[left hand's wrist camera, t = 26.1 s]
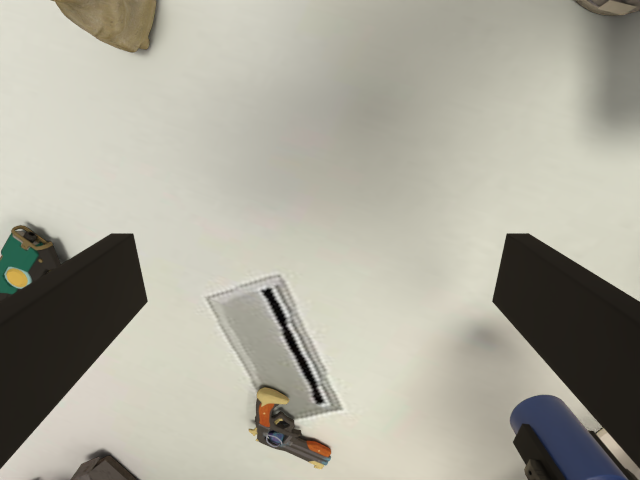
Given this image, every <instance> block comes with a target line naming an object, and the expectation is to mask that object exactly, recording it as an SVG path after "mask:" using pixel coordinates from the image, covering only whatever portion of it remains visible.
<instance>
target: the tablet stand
mask: <svg viewBox="0 0 640 480" xmlns="http://www.w3.org/2000/svg"><path fill="white" fill-rule="evenodd" d="M596 435H597V436H598V437H599V438H600V439H601V441H602V442H603V443H604V444H605V445H606V446H607V448H608V449H609V450H610V451H611V452H612V454H613V455H614V456H615V457H616V458H617V459H618V461H619V462H620V463H621V464H622V465H623V466H624V468H625V469H628V470H629V471H630V472H632V473H633V474H634V475H635V476H636V477H637V479H638V480H640V469H639V468H638V466H637V465H636V464H635V463H634V462H633V461H632V460H631V459H630V457H629V456H628V455H627V454H626V453H625V452H624V451H623V449H622V448H621V447H620V446H619V445H618V444H617V443H616V441H615V440H614V439H613V438H612V437H611V436H610V435H609V434H608V432H607V431H606V430H605V429H604V428H603V429H602V430H600V431H599V432H598V433H596Z"/></svg>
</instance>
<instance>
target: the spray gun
mask: <svg viewBox="0 0 640 480" xmlns="http://www.w3.org/2000/svg"><path fill="white" fill-rule="evenodd" d="M17 229H24V230H25V231H27V232H26V233H24V232H22V231H15V230H17ZM11 232H12V233H11V234H10V236H9V238H8V240H7V241H6V243H5V245H4V247H3V248H2V250H1V254H2V256H1V258H0V302H1V301H2V300H4V299H6V298H7V297H9V296H11V295H12V294H14V293H15V292H17V291H19V290H20V289H22V288H24V287H25V286H27V285H28V284H30V283H32V282H33V281H35V280H37V279H38V278H40V277H41V276H43V275H45V274H46V273H47V272H48V270H50V271H51V270H53V269H55V268H56V267H58V266H59V265H61V264H60V261H59V259H58V256H57V254H56V252H55V249H54V247H53V246H52V245H53V244H52V242H47V241H45V240H44V239H42V238H41V237H40V236H38V235H37V234H35V233H34V232H33V231H31V230H30V229H29V228H27V227H25V226H22V225H20V226H16V227H14V228H13V229H12V230H11ZM39 241H41V242H42V243H39ZM43 243H44V244H45V245H43ZM50 271H49V272H50Z"/></svg>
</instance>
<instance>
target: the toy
mask: <svg viewBox="0 0 640 480" xmlns="http://www.w3.org/2000/svg"><path fill="white" fill-rule="evenodd" d="M99 459H100V457H97V458H94V459H92V460H90V461H88V462H85V463H83V464H81V466H80V467H79V469H78V470H77V471H76V473H75V474H74V476H73V477H72V479H71V480H137V479H136V478H135V477H133V476H132V475H131V474H130V473H129V472H128V471H127V470H126V469H125V468H123V467H122V466H121V465H120V464H119V463H118V462H117V461H116V460H115V459H114V458H112V457H111V456H107V457H104V458H102V459H100V460H99Z"/></svg>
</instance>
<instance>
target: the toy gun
mask: <svg viewBox="0 0 640 480" xmlns="http://www.w3.org/2000/svg"><path fill="white" fill-rule="evenodd" d="M288 402H289V399H288V398H287V397H286V396H285V395H283V394H281V393H280V392H278V391H276V390H273V389H270V388H262V389H260V390H259V391H258V392H257V402H256V417H255V422H256V428H255V429H249V432H250V433H252V434H253V436H255V435H256V434H257V439H256V441H259V442H260V443H262V444H265V445H267V446H270V447H272V448H275V449H278V450H283V451H286V452H288V453H291V454H293V455H295V456H297V457H299V458H302V459H304V460H306V461H308V462H309V463H311V464H314V465H315V466H314V468H318V469H322V468H323V467H324V465H327V464H328V461H330V459H331V456H330V454H331V449H330V448H328V447H326V446H324V445H322V444H320V443H318V442H315V441H305V440H303V439H301V438H299V436H301V430H297V429H293V428H294V420H293V419H291V418H289V417H287V416H286V415H285V414H284V413H283V412H281V411H280V412H279V413H278V414H276V415H274V416H272V415H271V414H272V411H273V409H274V408H275V407H276V406H277V405H279V404H287V403H288ZM277 418H279V419H277ZM276 419H277V420H276ZM283 420H284V421H285V422H287V423H288V424H287V425H283V424H281V423H278V422H279V421H283ZM276 421H277V422H276ZM270 430H272V431H270ZM267 435H268V437H269V438H267Z"/></svg>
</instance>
